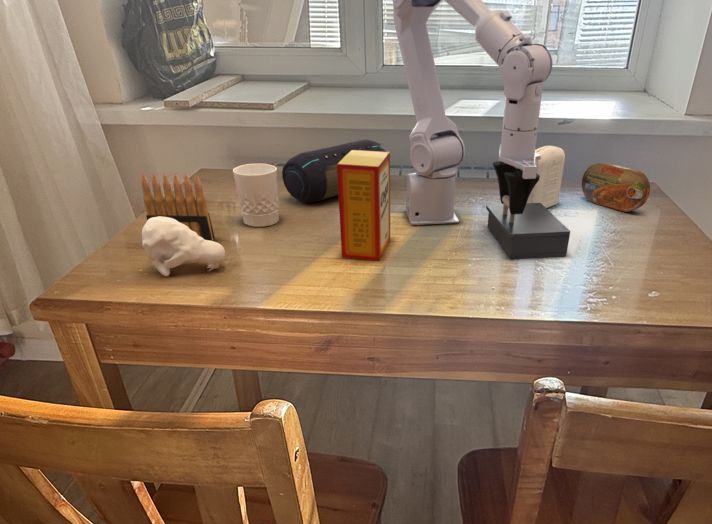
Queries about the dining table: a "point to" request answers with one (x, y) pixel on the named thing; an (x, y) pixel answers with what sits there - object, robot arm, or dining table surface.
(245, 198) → the white cup
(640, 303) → the dining table surface
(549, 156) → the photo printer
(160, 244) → the white figurine
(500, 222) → the cover
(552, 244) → the flip case
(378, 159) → the baking soda box
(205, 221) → the ammunition clip
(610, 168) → the tin
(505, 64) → the robot arm
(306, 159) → the portable speaker
